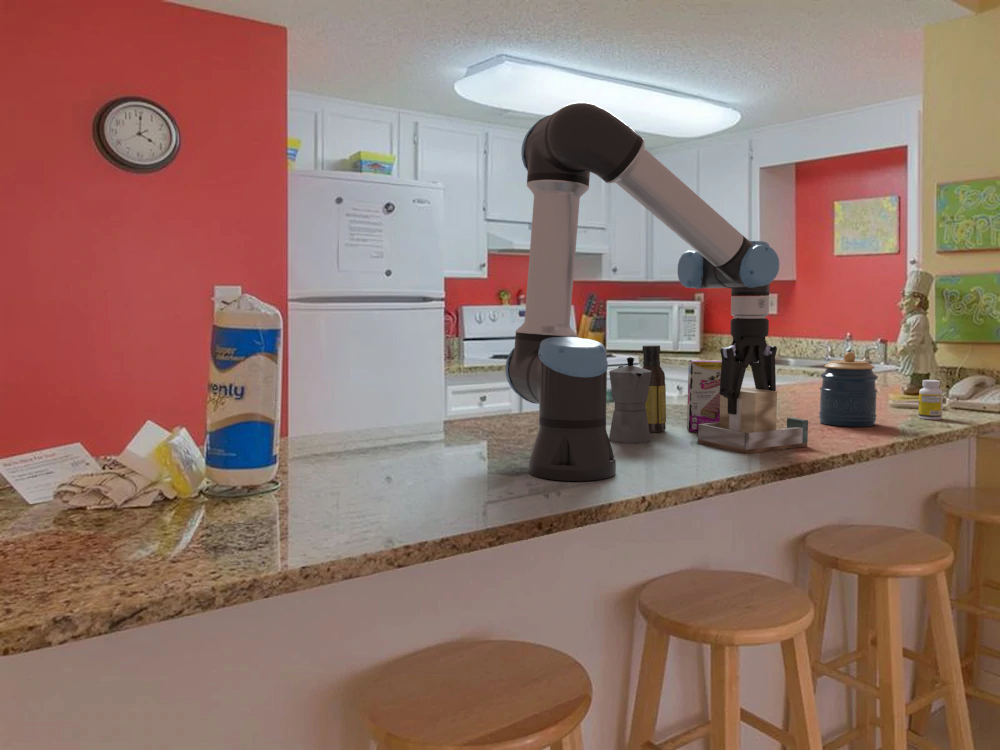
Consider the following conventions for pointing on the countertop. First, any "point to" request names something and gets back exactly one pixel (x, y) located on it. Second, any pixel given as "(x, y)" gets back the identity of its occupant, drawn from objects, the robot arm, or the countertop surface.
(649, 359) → the sauce bottle
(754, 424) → the tan rectangular block
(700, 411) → the candy bar box
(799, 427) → the grey open tray
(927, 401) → the supplement bottle
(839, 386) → the canister
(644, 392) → the coffeepot
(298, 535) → the countertop surface
